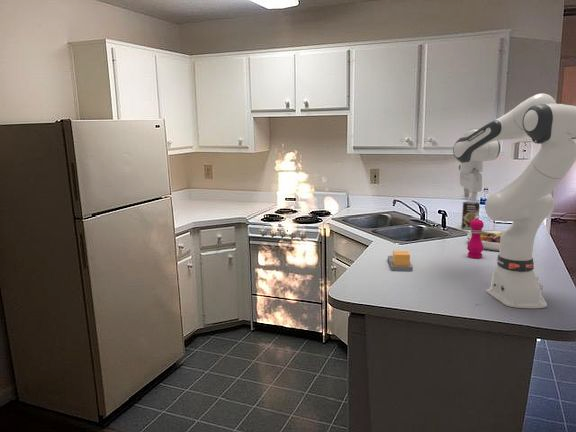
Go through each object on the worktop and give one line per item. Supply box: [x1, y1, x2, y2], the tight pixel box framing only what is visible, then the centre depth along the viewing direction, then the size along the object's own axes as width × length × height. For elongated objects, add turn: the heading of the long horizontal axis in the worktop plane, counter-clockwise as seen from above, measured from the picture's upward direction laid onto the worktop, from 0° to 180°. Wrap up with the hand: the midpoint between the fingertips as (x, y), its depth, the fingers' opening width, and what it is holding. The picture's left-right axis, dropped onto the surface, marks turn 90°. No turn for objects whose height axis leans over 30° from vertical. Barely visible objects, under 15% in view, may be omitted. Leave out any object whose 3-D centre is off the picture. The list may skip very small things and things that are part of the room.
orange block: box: [392, 250, 411, 266], centre depth 206 cm, size 7×7×5 cm
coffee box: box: [460, 201, 480, 231], centre depth 279 cm, size 9×6×16 cm
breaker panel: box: [387, 254, 414, 272], centre depth 211 cm, size 17×9×3 cm, turn 174°
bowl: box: [467, 229, 505, 252], centre depth 242 cm, size 30×30×8 cm
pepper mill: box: [466, 216, 484, 259], centre depth 220 cm, size 7×7×20 cm
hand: (469, 199), depth 201 cm, fingers open, 8 cm apart
